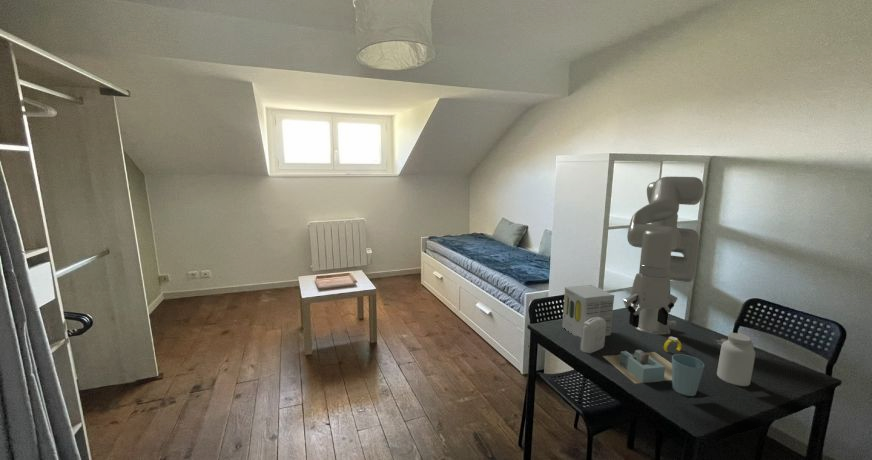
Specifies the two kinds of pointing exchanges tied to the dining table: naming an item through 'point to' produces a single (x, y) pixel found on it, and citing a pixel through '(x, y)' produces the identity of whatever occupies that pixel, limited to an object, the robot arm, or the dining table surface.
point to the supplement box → (586, 307)
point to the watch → (672, 339)
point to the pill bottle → (736, 360)
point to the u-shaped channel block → (642, 367)
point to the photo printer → (593, 335)
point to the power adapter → (726, 340)
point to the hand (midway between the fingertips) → (647, 324)
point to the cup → (686, 374)
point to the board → (652, 354)
